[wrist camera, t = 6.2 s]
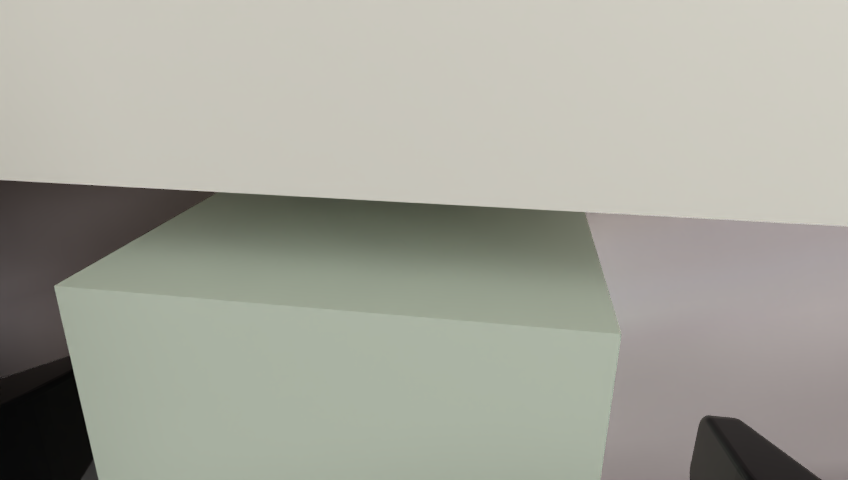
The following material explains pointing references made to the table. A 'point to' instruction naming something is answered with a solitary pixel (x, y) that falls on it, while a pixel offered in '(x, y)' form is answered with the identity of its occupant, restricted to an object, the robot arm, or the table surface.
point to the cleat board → (439, 102)
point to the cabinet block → (346, 344)
